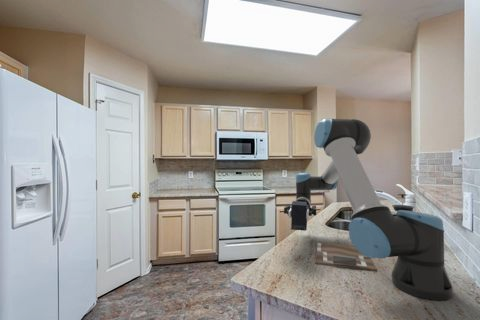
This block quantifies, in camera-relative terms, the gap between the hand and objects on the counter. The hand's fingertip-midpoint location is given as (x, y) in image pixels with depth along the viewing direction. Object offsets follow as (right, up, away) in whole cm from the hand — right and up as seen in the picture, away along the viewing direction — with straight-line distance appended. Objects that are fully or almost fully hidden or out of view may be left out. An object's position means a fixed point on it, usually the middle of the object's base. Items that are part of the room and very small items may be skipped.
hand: (298, 215), depth 96 cm
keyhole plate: (+19, -18, +3) cm, 26 cm away
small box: (+2, -7, +5) cm, 8 cm away
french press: (+58, -18, +21) cm, 65 cm away
